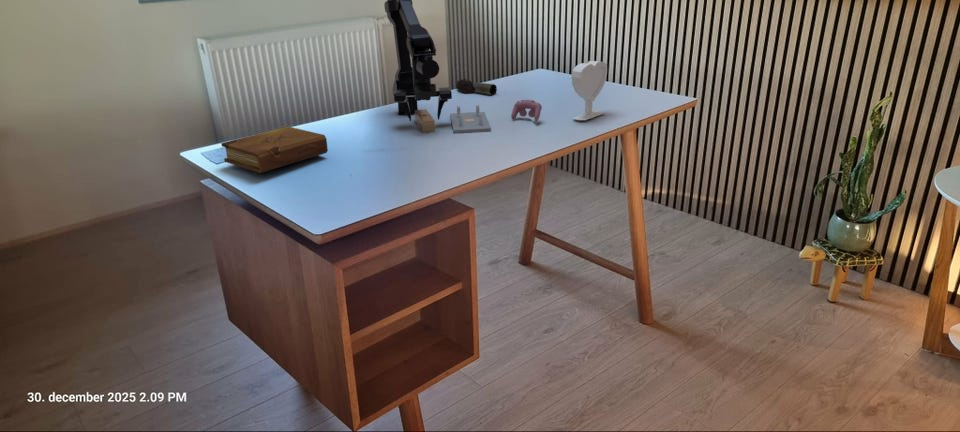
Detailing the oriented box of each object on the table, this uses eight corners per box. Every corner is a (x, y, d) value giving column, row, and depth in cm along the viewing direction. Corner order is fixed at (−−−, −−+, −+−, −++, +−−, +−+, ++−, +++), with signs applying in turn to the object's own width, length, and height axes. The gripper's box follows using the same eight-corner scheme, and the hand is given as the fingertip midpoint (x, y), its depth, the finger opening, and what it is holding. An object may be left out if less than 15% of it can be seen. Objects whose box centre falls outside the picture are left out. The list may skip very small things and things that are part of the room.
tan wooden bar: (423, 133, 216) (422, 121, 215) (415, 121, 231) (414, 110, 229) (435, 132, 217) (434, 120, 215) (426, 120, 231) (426, 108, 230)
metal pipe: (497, 94, 262) (496, 79, 259) (487, 97, 257) (486, 82, 255) (462, 91, 272) (461, 77, 270) (451, 94, 267) (450, 80, 265)
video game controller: (541, 122, 226) (543, 101, 225) (537, 121, 222) (539, 100, 221) (514, 119, 230) (516, 99, 229) (509, 119, 226) (511, 98, 225)
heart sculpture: (581, 121, 223) (582, 66, 216) (569, 119, 226) (570, 65, 219) (607, 112, 233) (609, 59, 226) (595, 110, 236) (597, 58, 229)
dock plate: (453, 133, 214) (453, 130, 214) (450, 116, 234) (450, 113, 234) (490, 131, 215) (490, 127, 215) (484, 114, 235) (484, 111, 235)
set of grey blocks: (459, 126, 218) (459, 115, 217) (457, 116, 230) (456, 106, 229) (482, 125, 219) (482, 114, 217) (479, 115, 231) (478, 105, 229)
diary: (261, 174, 184) (258, 154, 182) (224, 162, 195) (221, 143, 193) (328, 153, 200) (325, 134, 198) (290, 143, 211) (287, 125, 209)
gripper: (391, 79, 209) (395, 128, 215) (451, 76, 210) (453, 124, 216) (392, 72, 219) (396, 119, 225) (449, 69, 220) (452, 116, 226)
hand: (424, 120), depth 223 cm, fingers open, 9 cm apart
